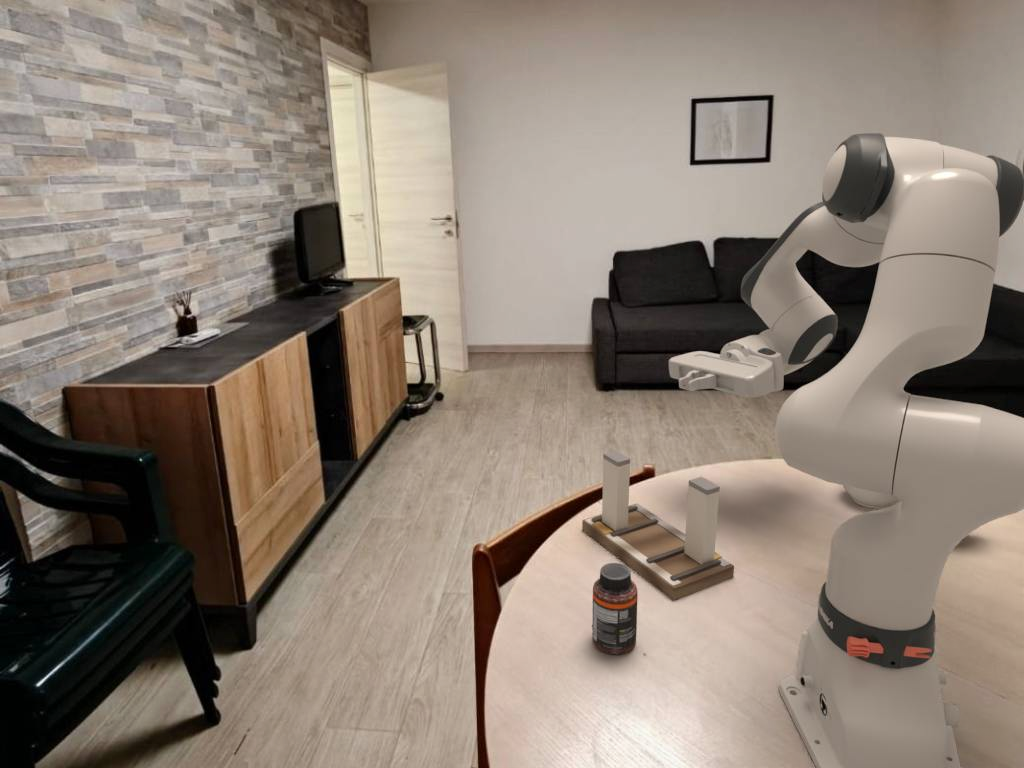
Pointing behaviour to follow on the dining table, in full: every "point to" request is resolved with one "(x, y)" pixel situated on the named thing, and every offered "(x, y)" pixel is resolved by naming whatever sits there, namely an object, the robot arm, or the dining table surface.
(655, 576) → the slotted wooden base
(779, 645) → the dining table surface
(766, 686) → the dining table surface
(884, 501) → the lidded bowl
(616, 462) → the tab
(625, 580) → the supplement bottle
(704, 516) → the tab
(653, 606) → the dining table surface
